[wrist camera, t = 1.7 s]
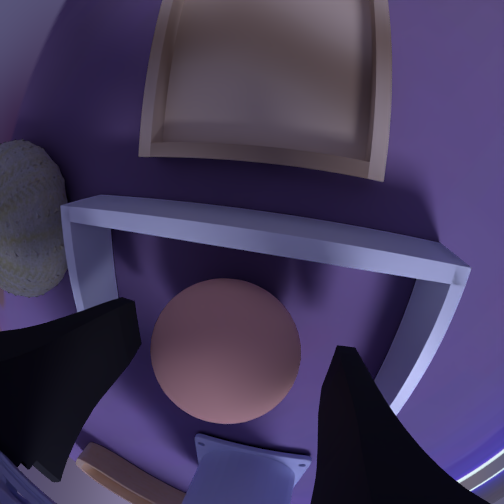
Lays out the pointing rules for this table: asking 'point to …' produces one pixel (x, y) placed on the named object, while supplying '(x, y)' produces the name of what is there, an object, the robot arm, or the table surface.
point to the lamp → (125, 478)
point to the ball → (225, 351)
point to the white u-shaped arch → (280, 244)
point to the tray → (271, 83)
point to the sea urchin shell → (30, 220)
